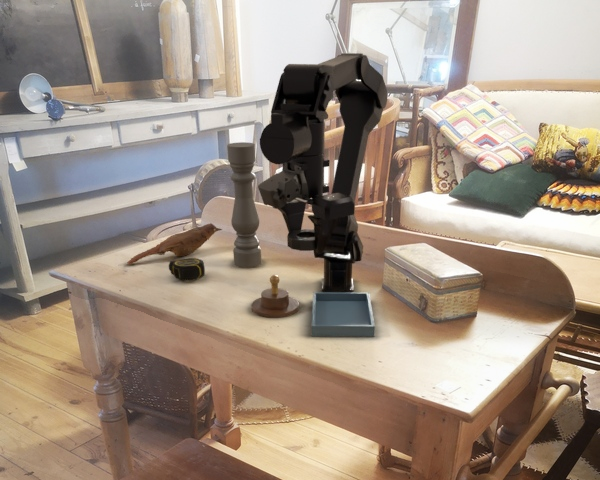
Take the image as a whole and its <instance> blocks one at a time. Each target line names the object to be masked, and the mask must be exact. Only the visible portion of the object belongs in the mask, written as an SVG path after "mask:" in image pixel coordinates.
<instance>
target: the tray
mask: <svg viewBox="0 0 600 480" xmlns="http://www.w3.org/2000/svg"><path fill="white" fill-rule="evenodd" d="M375 332H376V324H375V318H374V312H373V305H372V301H371V293H370V292H366V291H365V292H364V291H363V292H361V291H359V292H355V291H354V292H322V291H321V292H320V291H319V292H317V291H313V292H312V307H311V337H339V338H340V337H344V338H345V337H347V338H348V337H350V338H351V337H352V338H354V337H356V338H358V337H359V338H362V337H363V338H367V337H368V338H375Z"/></svg>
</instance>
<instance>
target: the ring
mask: <svg viewBox="0 0 600 480" xmlns="http://www.w3.org/2000/svg"><path fill="white" fill-rule="evenodd" d="M286 238H287V240H286V241H287V247H288V248H290V249H291V250H296V251H300V252H312V251H313V250H316V247H315V234H314V228H301V230H294V231H292V232H288V233H287V236H286ZM313 252H314V251H313Z"/></svg>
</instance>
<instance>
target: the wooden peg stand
mask: <svg viewBox="0 0 600 480" xmlns="http://www.w3.org/2000/svg"><path fill="white" fill-rule="evenodd" d="M269 283H270V284H271V287H270V288H267V289H264V290H262V291H261V293H260V297H259V298H255V300H253V301H252V302H251V311H252V312H253V313H254V314H255V315H257V316H259V317H263V318H271V319H272V318H275V319H277V318H285V317H289V316H292V315H294V314H296V313H297V312H298V311H299V309H300V302H299V301H298V300H297V299H296V298H294V297H291V296H290V292H289V291H288V290H286V289H284V288H279V283H280V277H279V276H278V275H276V274H273V275H270V277H269Z"/></svg>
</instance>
